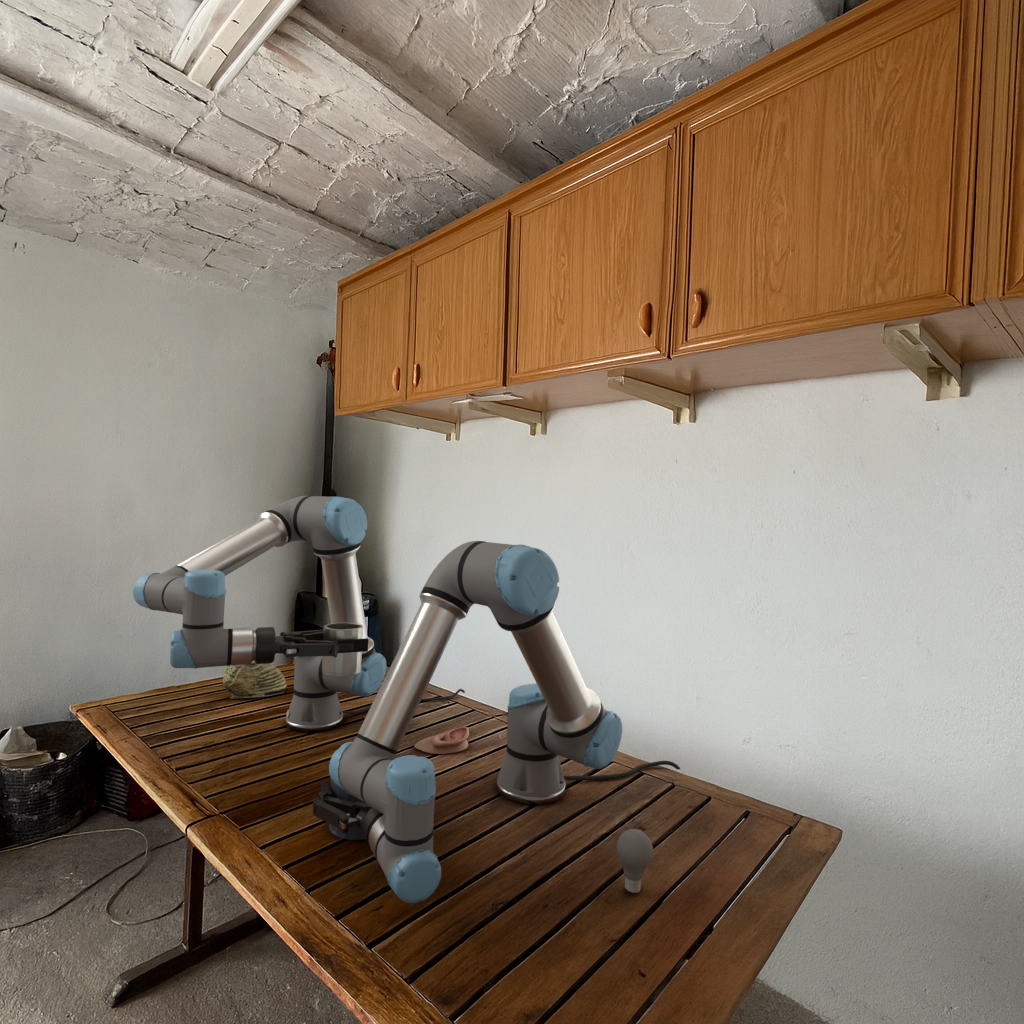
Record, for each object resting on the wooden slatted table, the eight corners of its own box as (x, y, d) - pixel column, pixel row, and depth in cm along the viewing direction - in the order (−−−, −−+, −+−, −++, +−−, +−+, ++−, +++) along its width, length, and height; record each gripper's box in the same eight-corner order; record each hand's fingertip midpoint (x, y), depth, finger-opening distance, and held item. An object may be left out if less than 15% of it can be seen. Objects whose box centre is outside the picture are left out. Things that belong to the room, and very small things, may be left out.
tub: (365, 803, 132) (367, 752, 132) (402, 823, 124) (405, 769, 124) (316, 824, 123) (318, 769, 122) (354, 847, 115) (356, 789, 115)
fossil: (218, 695, 195) (220, 647, 195) (278, 685, 208) (279, 640, 207) (228, 703, 189) (230, 653, 188) (289, 692, 201) (290, 645, 201)
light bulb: (610, 879, 108) (613, 822, 108) (644, 879, 109) (647, 822, 109) (619, 902, 102) (622, 840, 102) (655, 901, 103) (658, 840, 103)
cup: (345, 664, 146) (347, 621, 146) (368, 671, 141) (370, 626, 140) (314, 670, 139) (316, 625, 139) (337, 678, 134) (339, 631, 134)
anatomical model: (410, 735, 159) (425, 720, 170) (409, 751, 159) (424, 734, 171) (461, 741, 157) (473, 725, 168) (460, 757, 157) (472, 740, 168)
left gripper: (250, 652, 142) (352, 646, 151) (256, 677, 123) (373, 669, 132) (251, 618, 141) (354, 615, 151) (258, 638, 122) (375, 633, 132)
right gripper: (312, 871, 101) (291, 811, 120) (456, 838, 113) (416, 788, 132) (314, 825, 101) (293, 772, 120) (458, 797, 113) (418, 752, 132)
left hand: (363, 640), depth 142 cm, fingers closed on cup, 8 cm apart
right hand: (357, 780), depth 126 cm, fingers open, 13 cm apart
